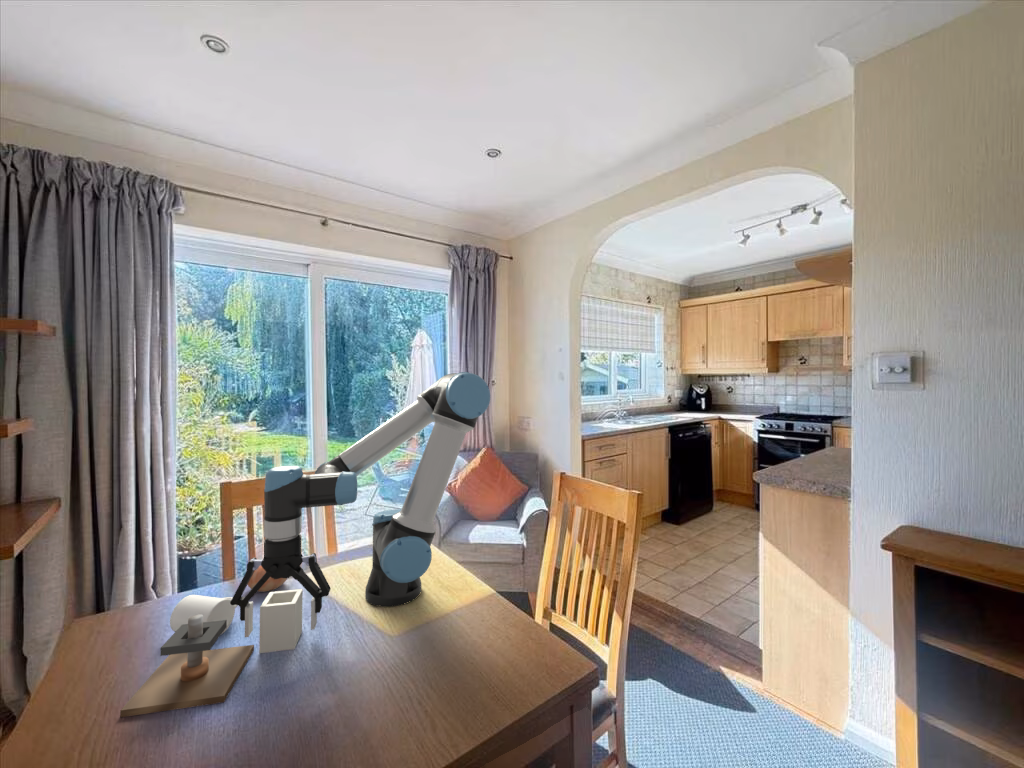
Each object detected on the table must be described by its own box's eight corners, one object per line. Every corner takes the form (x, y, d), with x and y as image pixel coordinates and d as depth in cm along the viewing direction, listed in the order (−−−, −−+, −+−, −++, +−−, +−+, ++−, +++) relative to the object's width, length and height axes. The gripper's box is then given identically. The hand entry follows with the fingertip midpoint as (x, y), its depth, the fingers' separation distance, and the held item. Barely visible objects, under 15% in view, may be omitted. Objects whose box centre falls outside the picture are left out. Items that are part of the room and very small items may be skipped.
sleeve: (302, 631, 102) (302, 589, 102) (294, 649, 95) (295, 603, 95) (269, 635, 100) (269, 592, 100) (259, 653, 93) (259, 607, 94)
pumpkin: (237, 591, 121) (238, 562, 122) (276, 576, 131) (276, 550, 131) (258, 601, 116) (259, 571, 116) (297, 585, 125) (297, 558, 125)
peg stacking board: (254, 650, 95) (254, 594, 95) (223, 702, 79) (224, 635, 79) (169, 660, 91) (170, 602, 91) (120, 717, 75) (121, 647, 75)
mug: (205, 645, 96) (206, 609, 96) (169, 639, 98) (169, 604, 98) (248, 617, 108) (249, 585, 108) (215, 612, 110) (215, 581, 110)
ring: (226, 627, 90) (226, 619, 90) (209, 650, 82) (209, 642, 82) (182, 631, 88) (182, 624, 88) (160, 655, 80) (160, 647, 80)
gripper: (343, 526, 104) (342, 615, 104) (228, 534, 98) (226, 627, 98) (338, 537, 97) (337, 632, 97) (213, 546, 91) (212, 647, 91)
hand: (281, 630), depth 98 cm, fingers open, 13 cm apart
